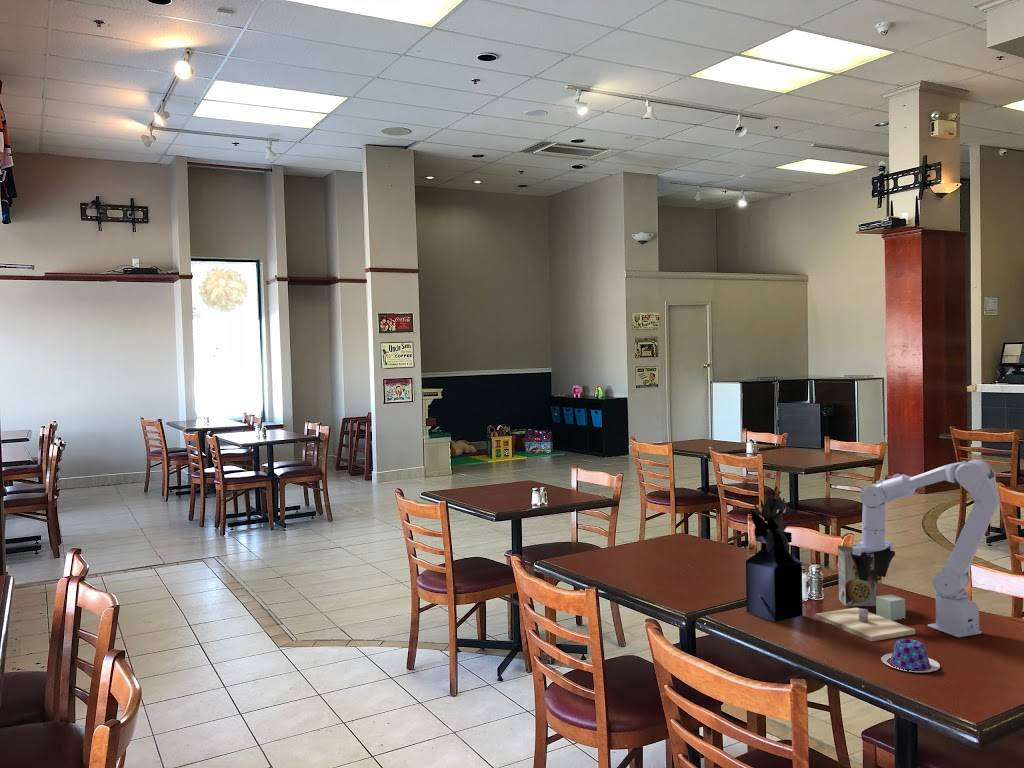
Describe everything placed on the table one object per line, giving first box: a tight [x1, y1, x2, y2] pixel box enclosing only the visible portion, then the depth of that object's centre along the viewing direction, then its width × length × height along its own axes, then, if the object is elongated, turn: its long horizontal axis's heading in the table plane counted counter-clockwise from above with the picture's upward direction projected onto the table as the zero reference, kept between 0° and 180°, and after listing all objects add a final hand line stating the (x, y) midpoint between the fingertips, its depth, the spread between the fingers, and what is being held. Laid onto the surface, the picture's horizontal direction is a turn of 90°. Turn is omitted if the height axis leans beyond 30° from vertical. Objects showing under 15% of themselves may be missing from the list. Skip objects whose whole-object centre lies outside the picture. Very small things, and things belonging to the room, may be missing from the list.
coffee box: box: [837, 544, 879, 607], centre depth 227 cm, size 9×6×16 cm
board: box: [814, 607, 916, 642], centre depth 208 cm, size 20×14×4 cm
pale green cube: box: [875, 593, 906, 621], centre depth 215 cm, size 5×5×5 cm
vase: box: [745, 486, 804, 623], centre depth 218 cm, size 14×12×35 cm
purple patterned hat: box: [880, 638, 941, 673], centre depth 181 cm, size 12×12×5 cm
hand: (872, 578), depth 217 cm, fingers open, 7 cm apart
